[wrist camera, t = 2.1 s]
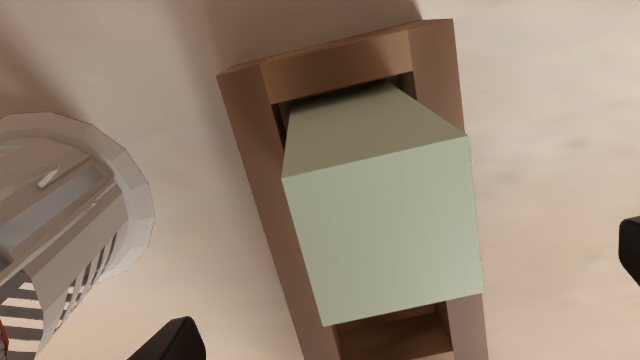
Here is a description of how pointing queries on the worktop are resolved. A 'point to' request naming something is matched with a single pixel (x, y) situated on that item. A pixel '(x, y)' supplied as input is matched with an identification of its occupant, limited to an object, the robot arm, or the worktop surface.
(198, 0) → the worktop surface
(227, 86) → the pocket holder
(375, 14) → the worktop surface
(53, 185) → the french press
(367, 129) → the green block
